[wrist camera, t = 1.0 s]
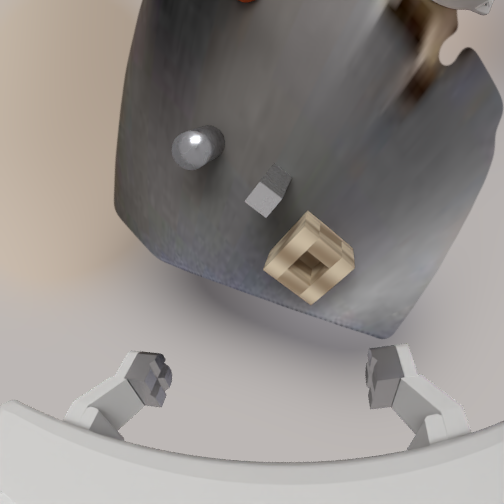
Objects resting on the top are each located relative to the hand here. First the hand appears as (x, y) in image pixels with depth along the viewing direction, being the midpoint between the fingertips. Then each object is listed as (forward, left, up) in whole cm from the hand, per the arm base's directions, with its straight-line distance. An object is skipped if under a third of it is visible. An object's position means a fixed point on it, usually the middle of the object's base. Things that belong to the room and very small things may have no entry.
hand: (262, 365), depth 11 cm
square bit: (+7, -2, -37) cm, 38 cm away
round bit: (+9, -14, -37) cm, 41 cm away
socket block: (+13, +10, -37) cm, 40 cm away
